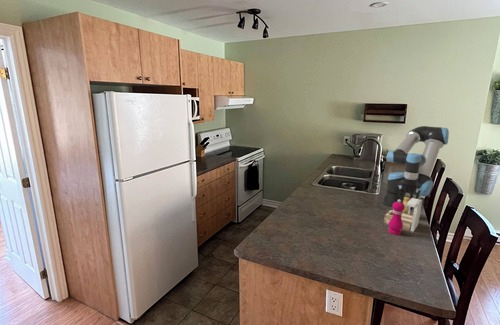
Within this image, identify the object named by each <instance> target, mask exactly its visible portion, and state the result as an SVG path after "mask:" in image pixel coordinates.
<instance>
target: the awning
mask: <svg viewBox="0 0 500 325" xmlns="http://www.w3.org/2000/svg"><path fill="white" fill-rule="evenodd" d="M415 198H416V197H415ZM415 198H414V197H413V198H411V199H410V200H409V201H408V203H407V206H406V209H408V208H409V206H410V207H413V212H412V216H413V219H412V224H411V229H410V230H409V231H410V232H413V233H414V232H415V230H416V228H417V227H418V226H419V222H420V216H421V209H422V206H423V199H420V198H418V199H415Z"/></svg>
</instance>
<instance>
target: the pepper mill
mask: <svg viewBox="0 0 500 325" xmlns="http://www.w3.org/2000/svg"><path fill="white" fill-rule="evenodd" d="M391 207H392V210H393V216H392V218H391V220H390V221H389V224H387V225H388V233H389V234H392V235H394V236H400V235H401V234H402V230H403V229H402V228H403V223H402V220H401V215H402V214H403V210H404V209H405V206H404V204H403V203H402V202H401V200H400V199H399V200H398V202H394V203H393V206H391Z"/></svg>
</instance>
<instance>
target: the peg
mask: <svg viewBox="0 0 500 325" xmlns="http://www.w3.org/2000/svg"><path fill="white" fill-rule="evenodd" d="M409 200H410V195H405V196H404V199H403V204H404V206H405V209H404V210H403V213H405V214H408V210H409V208H408V209H406V206H407V203H408V201H409Z"/></svg>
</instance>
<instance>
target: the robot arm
mask: <svg viewBox="0 0 500 325" xmlns="http://www.w3.org/2000/svg"><path fill="white" fill-rule="evenodd" d="M449 131H450V130H449V129H448V128H447V127H442V126H441V127H439V126H426V125H421V126H417V127H414V128H412V129H411V130H409V132H407V133H406V135H405V138H404V139H403V140H402V141H401V143H400V144H399V145H398V146H397V148H396V149H395V150H389V151H388V152H387V154H386V158H385V159H386V161H387V163H388V162H389V163H393V164H397V165H398V164H400V165H405V168H404V172H401V171H399V172H398V171H396V172H390V173H388V177H387V183H386V191H385V193H384V195H383V197H382V201H381V202H382V203H383V205H386V206H389V207H392V206H393V203H394V202H398V200H399V199H400V200H401V202H402V203H403V199H404V196H406V195H407V194H409V197H410V199H411V198H414V196H415V199H420V198H419V197H423V198H425V197H428V196H429V195H430V193H431V192H432V189H433V186H434V181H432V180H433V179H432V177H431V175H432V172H433V169H434V166H435V163H436V161H437V157H438V154H439V152H440V149H442V148H443V147H444V145H445V146H446V145H448V142H449V137H450V136H449V133H450V132H449ZM419 142H420V143H421V142H422V143H424V145H425V147H424V149H423V152H422V154H419V153H416V152H415V153H413V152H411V153H410V151H411V150H412V148H413V147H414V146H415V145H416V144H418V143H419ZM413 210H414V207H410V206H409V210H408V214H409V215H411V211H413Z"/></svg>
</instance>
